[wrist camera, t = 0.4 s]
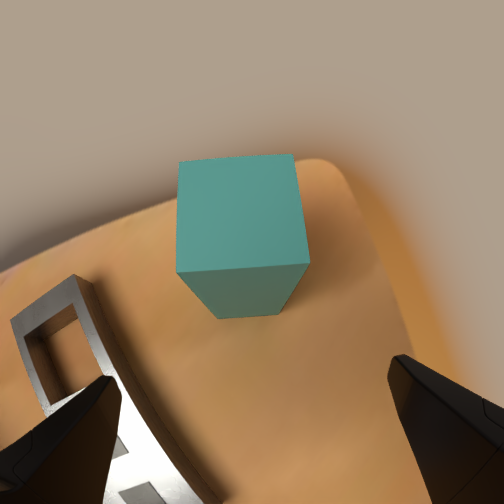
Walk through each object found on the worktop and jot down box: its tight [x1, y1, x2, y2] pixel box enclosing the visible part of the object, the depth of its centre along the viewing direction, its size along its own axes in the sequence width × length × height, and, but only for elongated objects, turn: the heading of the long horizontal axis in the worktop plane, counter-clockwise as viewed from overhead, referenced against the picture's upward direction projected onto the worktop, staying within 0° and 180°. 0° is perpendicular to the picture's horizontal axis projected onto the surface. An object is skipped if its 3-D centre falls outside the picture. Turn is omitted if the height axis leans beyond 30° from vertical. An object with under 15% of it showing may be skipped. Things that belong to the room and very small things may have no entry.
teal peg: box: [176, 154, 310, 319], centre depth 17 cm, size 4×4×13 cm
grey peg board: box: [10, 274, 223, 504], centre depth 18 cm, size 21×8×3 cm, turn 32°
